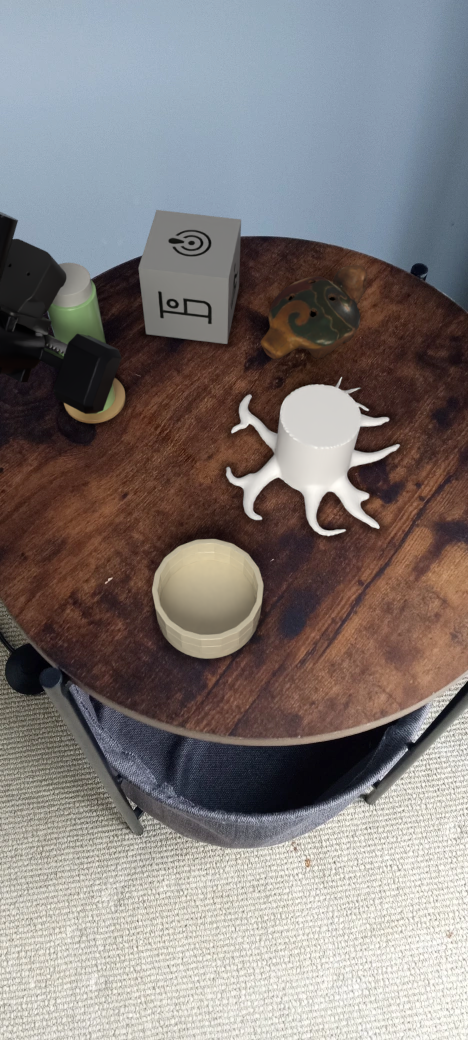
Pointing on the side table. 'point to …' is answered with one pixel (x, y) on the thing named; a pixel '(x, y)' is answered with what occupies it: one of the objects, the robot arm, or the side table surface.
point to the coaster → (105, 414)
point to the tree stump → (312, 450)
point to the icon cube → (190, 276)
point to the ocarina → (315, 314)
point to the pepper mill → (77, 311)
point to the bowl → (208, 598)
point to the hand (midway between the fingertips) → (73, 348)
